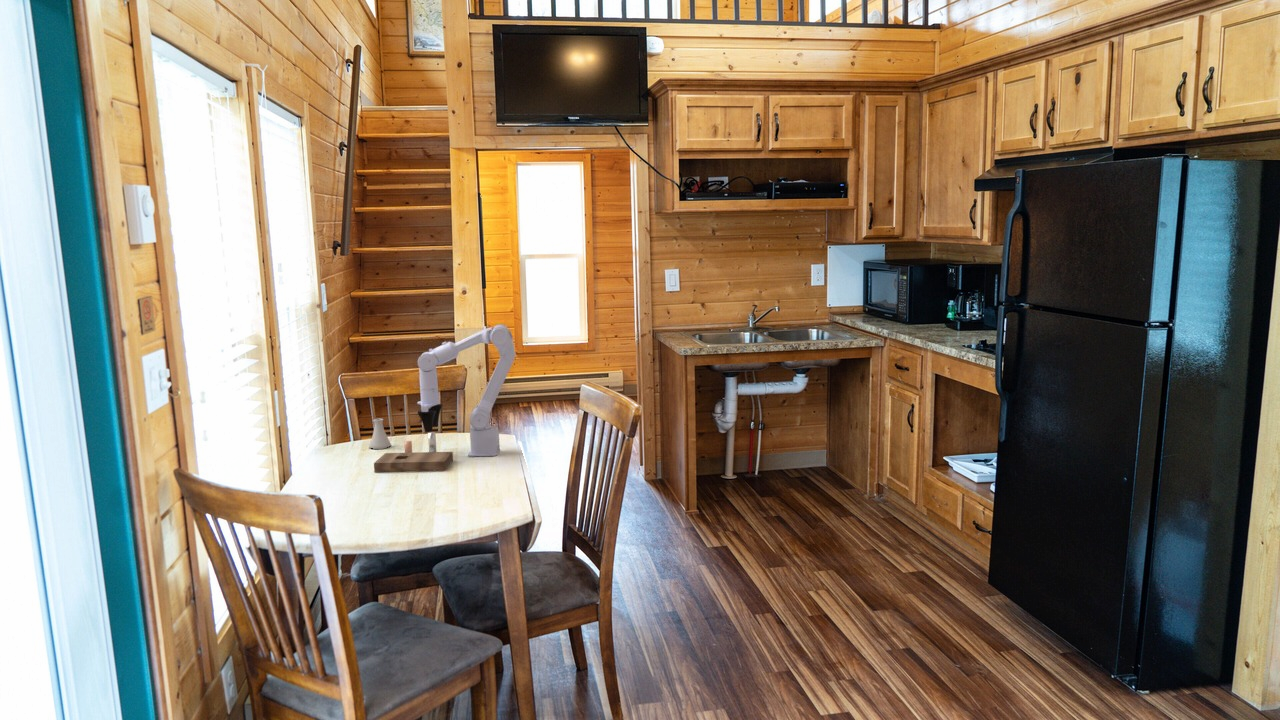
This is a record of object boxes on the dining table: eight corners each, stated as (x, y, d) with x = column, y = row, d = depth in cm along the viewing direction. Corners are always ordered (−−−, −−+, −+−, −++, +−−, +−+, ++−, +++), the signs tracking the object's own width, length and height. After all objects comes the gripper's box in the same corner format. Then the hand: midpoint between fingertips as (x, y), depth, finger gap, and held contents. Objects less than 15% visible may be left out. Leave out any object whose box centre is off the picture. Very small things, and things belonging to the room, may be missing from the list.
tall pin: (437, 455, 280) (436, 432, 279) (435, 457, 278) (434, 433, 277) (430, 455, 280) (429, 432, 279) (428, 457, 278) (427, 433, 277)
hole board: (453, 460, 273) (452, 451, 273) (444, 470, 261) (444, 461, 261) (385, 462, 273) (385, 453, 273) (374, 472, 261) (373, 463, 261)
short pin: (413, 453, 283) (412, 440, 283) (411, 455, 281) (410, 442, 280) (406, 453, 283) (405, 440, 283) (404, 455, 281) (403, 442, 280)
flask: (365, 449, 291) (363, 421, 289) (377, 444, 297) (375, 416, 296) (383, 450, 289) (381, 422, 287) (395, 445, 295) (393, 417, 294)
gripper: (422, 384, 283) (424, 424, 285) (411, 393, 269) (413, 434, 271) (443, 384, 283) (445, 423, 285) (433, 392, 269) (435, 433, 271)
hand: (431, 428), depth 278 cm, fingers open, 7 cm apart
